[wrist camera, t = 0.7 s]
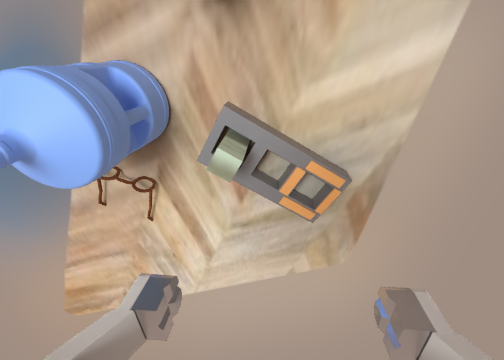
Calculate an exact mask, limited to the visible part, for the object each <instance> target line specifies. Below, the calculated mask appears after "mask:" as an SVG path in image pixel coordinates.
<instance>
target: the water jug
mask: <svg viewBox="0 0 504 360" xmlns="http://www.w3.org/2000/svg"><path fill="white" fill-rule="evenodd" d="M168 119H169V105H168V101H167V97H166V95H165V92H164V90H163V89H162V87H161V85H160V84H159V82H158V81H157V80H156V79H155V78H154V76H153V75H151V74H150V73H149V72H148V71H147V70H145V69H144V68H142V67H141V66H139V65H137V64H134V63H131V62H128V61H120V60H119V61H118V60H115V61H108V62H103V63H75V64H70V65H62V66H25V67H18V68H14V69H6V70H2V71H0V168H4V167H7V166H10V165H13V166H14V167H15V168H17V169H18V170H19V171H21V172H22V173H24V174H25V175H27V176H28V177H30V178H32V179H34V180H36V181H38V182H40V183H43V184H46V185H48V186H52V187H56V188H63V189H73V188H79V187H83V186H86V185H88V184H90V183H91V182H93V181H95V180H97V179H99V178H100V177H102V176H103V175H105V174H106V173H108V172H109V171H110V170H111V169H112V168H113V167H114V166H116V165H117V164H119V163H120V162H121V161H122V160H123V159H124V158H126V157H127V156H129V155H130V154H131V153H133V152H135V151H137V150H138V149H140V148H142V147H143V146H145V145H146V144H148V143H150V142H152V141H153V140H155V139H156V138H158V137H159V136H160V135H161V134H162V133H163V131H164V130H165V128H166V126H167V123H168Z"/></svg>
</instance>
